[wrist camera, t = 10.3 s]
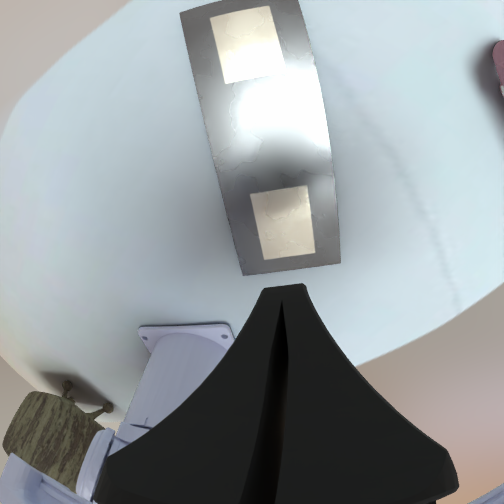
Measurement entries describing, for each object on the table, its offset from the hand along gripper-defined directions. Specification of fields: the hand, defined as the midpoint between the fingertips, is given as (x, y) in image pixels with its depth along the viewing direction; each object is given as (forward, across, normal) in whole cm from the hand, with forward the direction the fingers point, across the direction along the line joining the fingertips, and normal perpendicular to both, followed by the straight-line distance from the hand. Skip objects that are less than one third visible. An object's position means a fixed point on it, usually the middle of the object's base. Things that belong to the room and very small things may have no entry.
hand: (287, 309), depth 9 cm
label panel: (+7, 0, -5) cm, 9 cm away
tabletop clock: (+8, +33, +21) cm, 40 cm away
